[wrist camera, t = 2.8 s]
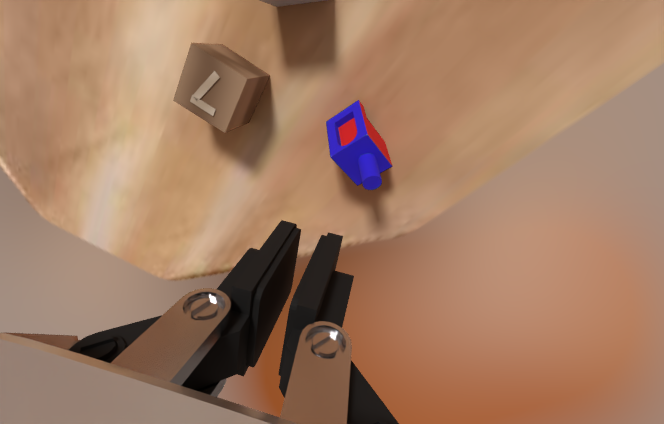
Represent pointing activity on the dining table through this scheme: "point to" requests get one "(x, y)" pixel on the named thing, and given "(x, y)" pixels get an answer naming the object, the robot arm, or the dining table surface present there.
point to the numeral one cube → (288, 2)
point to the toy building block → (357, 147)
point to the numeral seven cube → (220, 86)
